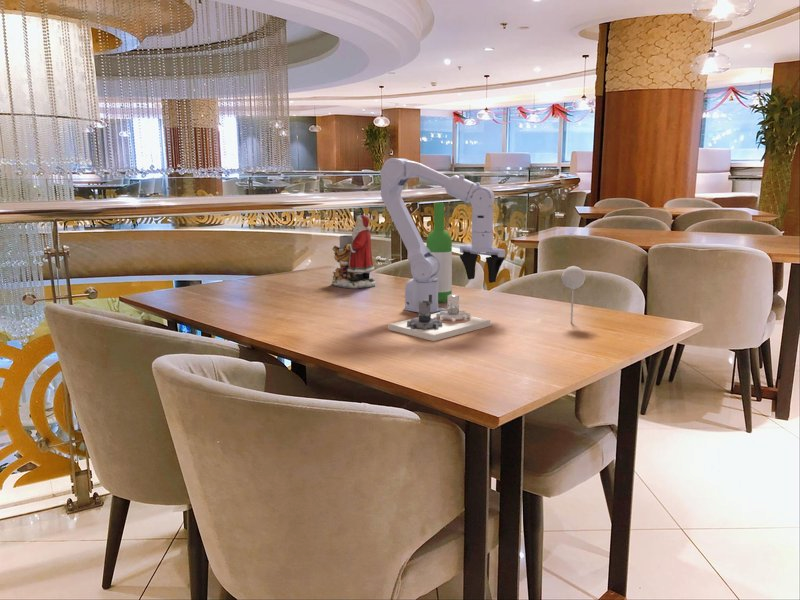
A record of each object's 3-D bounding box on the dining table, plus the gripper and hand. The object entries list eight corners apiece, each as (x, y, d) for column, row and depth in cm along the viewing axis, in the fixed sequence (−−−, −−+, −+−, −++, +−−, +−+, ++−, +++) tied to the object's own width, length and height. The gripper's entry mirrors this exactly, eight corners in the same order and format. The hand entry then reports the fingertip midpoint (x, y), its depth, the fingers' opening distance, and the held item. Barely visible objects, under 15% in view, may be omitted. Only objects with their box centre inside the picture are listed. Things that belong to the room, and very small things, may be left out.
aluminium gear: (429, 318, 170) (429, 295, 169) (452, 312, 176) (452, 291, 174) (453, 323, 163) (453, 300, 162) (477, 318, 169) (477, 295, 168)
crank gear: (399, 325, 163) (399, 293, 161) (424, 320, 168) (424, 289, 167) (424, 332, 156) (424, 298, 155) (449, 325, 162) (449, 293, 161)
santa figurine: (325, 283, 233) (323, 213, 228) (360, 280, 240) (360, 212, 234) (343, 291, 219) (342, 217, 213) (381, 287, 225) (380, 215, 220)
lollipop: (566, 326, 166) (568, 268, 163) (555, 321, 172) (557, 265, 169) (587, 324, 168) (590, 267, 165) (576, 319, 174) (578, 264, 171)
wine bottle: (451, 298, 204) (452, 201, 198) (451, 303, 196) (451, 203, 190) (427, 298, 204) (426, 202, 198) (425, 303, 197) (425, 203, 191)
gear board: (388, 329, 165) (388, 323, 165) (444, 316, 179) (444, 310, 179) (433, 341, 154) (433, 334, 153) (490, 325, 168) (490, 319, 167)
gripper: (452, 231, 180) (452, 279, 183) (493, 234, 169) (492, 285, 172) (469, 229, 185) (468, 276, 187) (510, 232, 174) (509, 282, 177)
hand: (481, 280), depth 180 cm, fingers open, 7 cm apart
